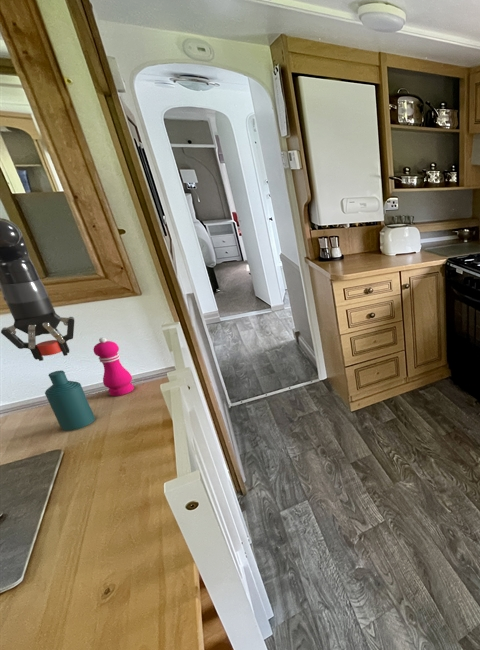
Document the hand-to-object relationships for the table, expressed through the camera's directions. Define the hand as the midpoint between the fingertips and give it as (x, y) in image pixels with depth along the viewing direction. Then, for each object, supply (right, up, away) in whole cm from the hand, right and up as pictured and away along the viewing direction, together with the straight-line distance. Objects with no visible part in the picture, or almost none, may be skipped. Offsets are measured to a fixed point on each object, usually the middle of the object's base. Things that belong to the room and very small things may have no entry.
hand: (53, 357), depth 104 cm
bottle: (-1, -20, +8) cm, 22 cm away
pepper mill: (-4, -14, +25) cm, 28 cm away
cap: (0, +1, -1) cm, 1 cm away
